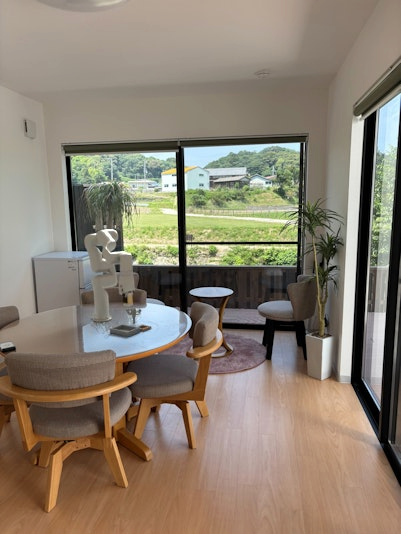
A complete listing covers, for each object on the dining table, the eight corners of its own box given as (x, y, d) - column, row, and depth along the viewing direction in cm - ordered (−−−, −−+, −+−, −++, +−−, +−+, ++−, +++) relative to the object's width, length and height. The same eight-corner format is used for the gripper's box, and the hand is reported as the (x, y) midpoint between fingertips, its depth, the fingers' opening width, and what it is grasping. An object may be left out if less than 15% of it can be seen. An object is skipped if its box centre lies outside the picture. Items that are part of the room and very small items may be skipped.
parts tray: (110, 333, 250) (109, 328, 250) (122, 328, 259) (122, 324, 259) (127, 337, 242) (127, 332, 242) (140, 332, 251) (139, 327, 251)
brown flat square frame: (134, 329, 256) (134, 327, 256) (142, 326, 262) (142, 324, 262) (143, 331, 252) (143, 329, 252) (151, 328, 258) (151, 326, 258)
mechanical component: (140, 324, 268) (140, 309, 266) (126, 323, 270) (125, 309, 268) (142, 323, 271) (141, 308, 269) (127, 322, 273) (127, 308, 271)
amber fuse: (123, 306, 249) (122, 293, 248) (128, 304, 252) (127, 292, 251) (128, 306, 247) (127, 293, 246) (132, 305, 250) (132, 292, 249)
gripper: (131, 270, 255) (132, 299, 258) (112, 274, 241) (113, 304, 244) (140, 271, 252) (141, 300, 254) (121, 275, 238) (123, 306, 240)
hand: (127, 302), depth 249 cm, fingers closed on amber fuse, 4 cm apart
